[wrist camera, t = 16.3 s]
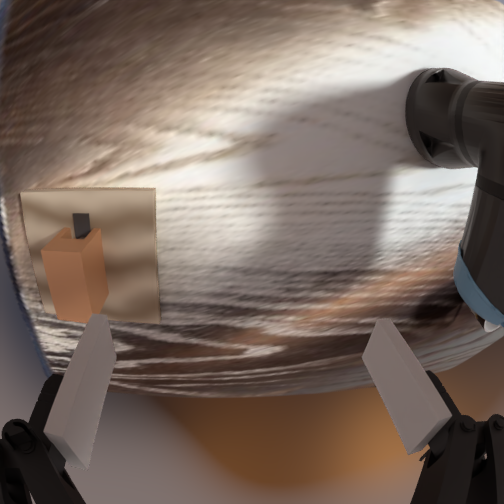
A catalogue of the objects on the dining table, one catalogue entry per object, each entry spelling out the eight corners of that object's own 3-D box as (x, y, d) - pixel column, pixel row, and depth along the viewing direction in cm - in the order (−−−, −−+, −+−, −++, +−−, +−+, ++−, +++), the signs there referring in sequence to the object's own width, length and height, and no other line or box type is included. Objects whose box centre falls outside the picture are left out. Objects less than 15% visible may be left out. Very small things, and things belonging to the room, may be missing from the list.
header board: (25, 189, 34) (8, 199, 30) (155, 188, 37) (148, 198, 33) (48, 307, 43) (38, 323, 39) (161, 317, 45) (157, 337, 41)
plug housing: (64, 227, 36) (40, 250, 30) (100, 228, 37) (80, 252, 30) (75, 290, 40) (58, 319, 34) (108, 293, 41) (94, 323, 35)
